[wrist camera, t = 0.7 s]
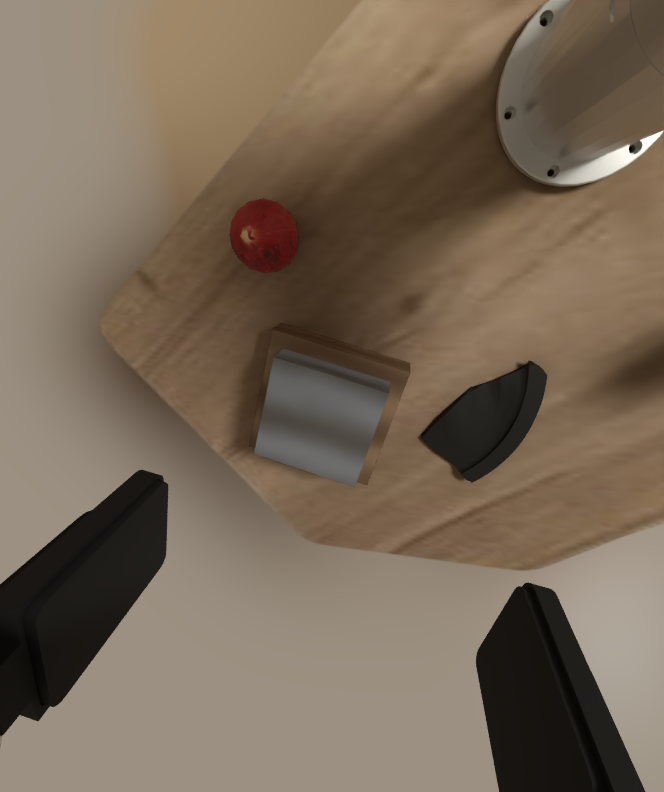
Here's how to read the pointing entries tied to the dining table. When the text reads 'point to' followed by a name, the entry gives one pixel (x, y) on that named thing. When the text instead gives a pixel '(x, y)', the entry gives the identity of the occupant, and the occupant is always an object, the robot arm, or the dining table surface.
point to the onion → (264, 236)
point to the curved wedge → (488, 421)
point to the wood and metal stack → (325, 405)
